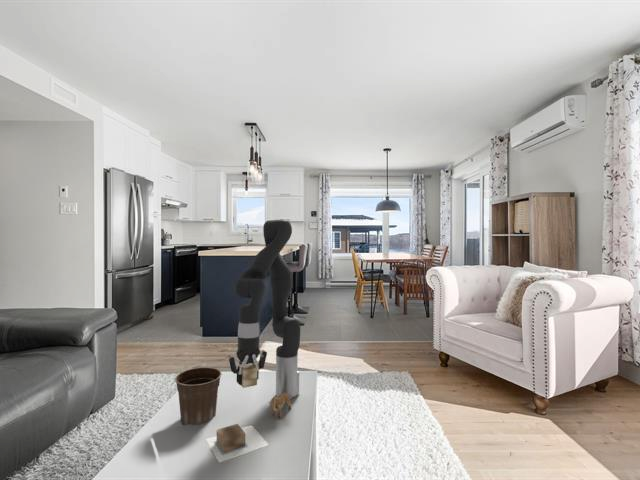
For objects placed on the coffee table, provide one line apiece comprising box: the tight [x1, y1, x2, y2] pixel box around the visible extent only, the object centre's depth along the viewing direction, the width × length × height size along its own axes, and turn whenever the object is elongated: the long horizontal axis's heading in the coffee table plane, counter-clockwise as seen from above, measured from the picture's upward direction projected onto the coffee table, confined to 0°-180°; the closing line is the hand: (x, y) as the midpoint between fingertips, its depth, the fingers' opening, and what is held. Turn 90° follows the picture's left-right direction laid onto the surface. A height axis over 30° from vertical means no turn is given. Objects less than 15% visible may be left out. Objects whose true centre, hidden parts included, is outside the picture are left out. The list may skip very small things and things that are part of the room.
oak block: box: [240, 363, 258, 389], centre depth 122 cm, size 5×5×6 cm
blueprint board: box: [205, 425, 270, 464], centre depth 111 cm, size 16×14×1 cm
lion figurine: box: [269, 393, 292, 420], centre depth 131 cm, size 15×5×9 cm, turn 167°
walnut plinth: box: [216, 423, 245, 453], centre depth 110 cm, size 7×7×4 cm
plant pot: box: [174, 366, 223, 426], centre depth 127 cm, size 16×16×16 cm
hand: (247, 382), depth 122 cm, fingers closed on oak block, 5 cm apart
